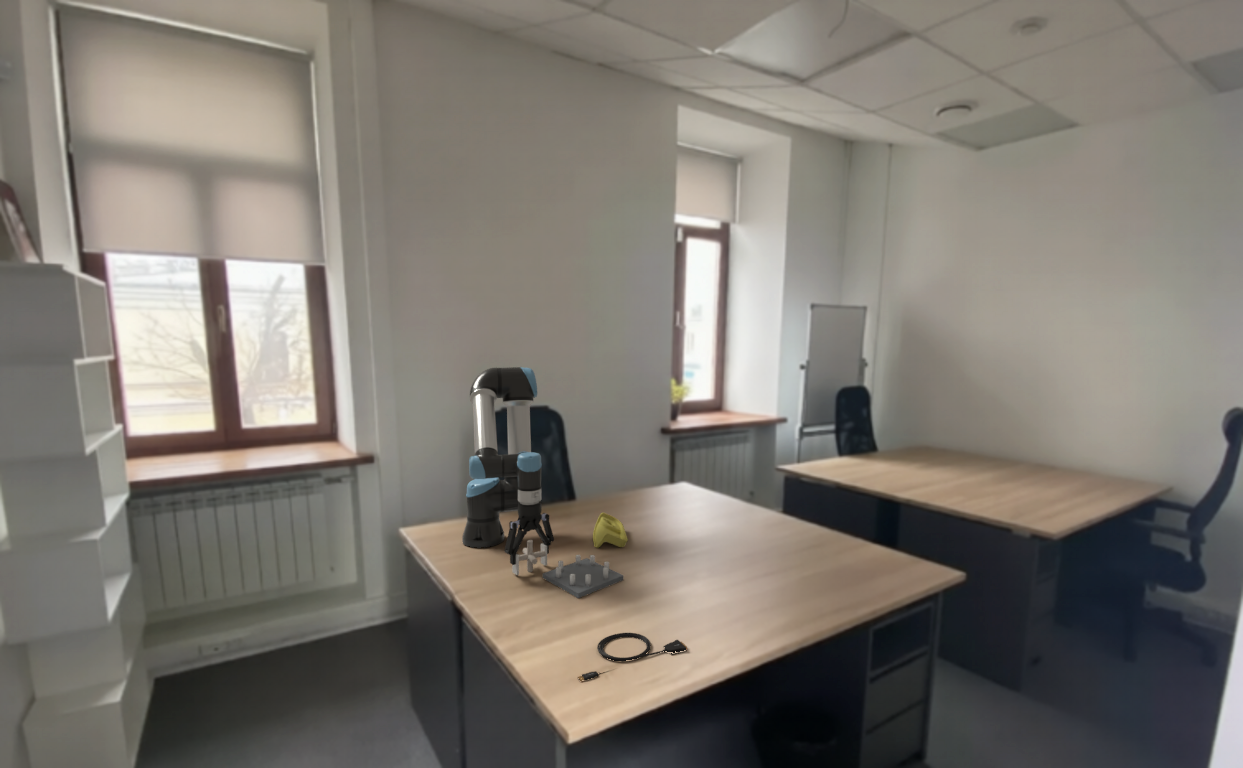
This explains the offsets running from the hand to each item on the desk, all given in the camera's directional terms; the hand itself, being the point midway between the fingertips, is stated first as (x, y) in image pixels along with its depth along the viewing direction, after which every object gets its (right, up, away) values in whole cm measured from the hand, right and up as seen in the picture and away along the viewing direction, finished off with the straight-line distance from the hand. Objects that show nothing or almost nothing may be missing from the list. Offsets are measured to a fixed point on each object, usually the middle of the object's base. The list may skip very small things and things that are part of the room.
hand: (530, 568), depth 175 cm
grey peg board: (+18, -1, -5) cm, 18 cm away
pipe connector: (0, -1, 0) cm, 1 cm away
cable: (+30, -5, -44) cm, 54 cm away
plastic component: (+25, +1, +29) cm, 38 cm away
